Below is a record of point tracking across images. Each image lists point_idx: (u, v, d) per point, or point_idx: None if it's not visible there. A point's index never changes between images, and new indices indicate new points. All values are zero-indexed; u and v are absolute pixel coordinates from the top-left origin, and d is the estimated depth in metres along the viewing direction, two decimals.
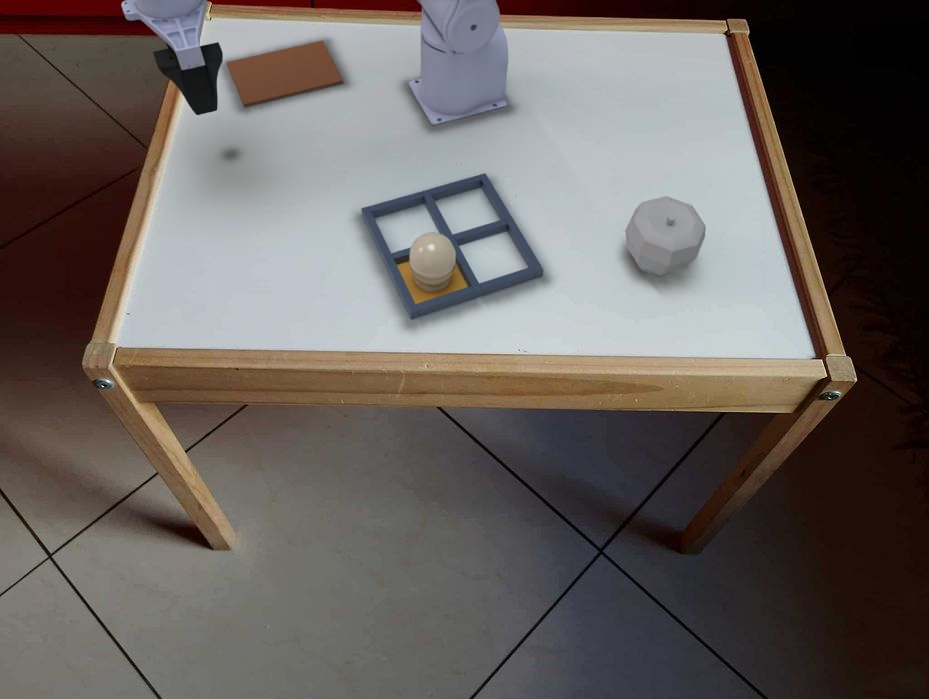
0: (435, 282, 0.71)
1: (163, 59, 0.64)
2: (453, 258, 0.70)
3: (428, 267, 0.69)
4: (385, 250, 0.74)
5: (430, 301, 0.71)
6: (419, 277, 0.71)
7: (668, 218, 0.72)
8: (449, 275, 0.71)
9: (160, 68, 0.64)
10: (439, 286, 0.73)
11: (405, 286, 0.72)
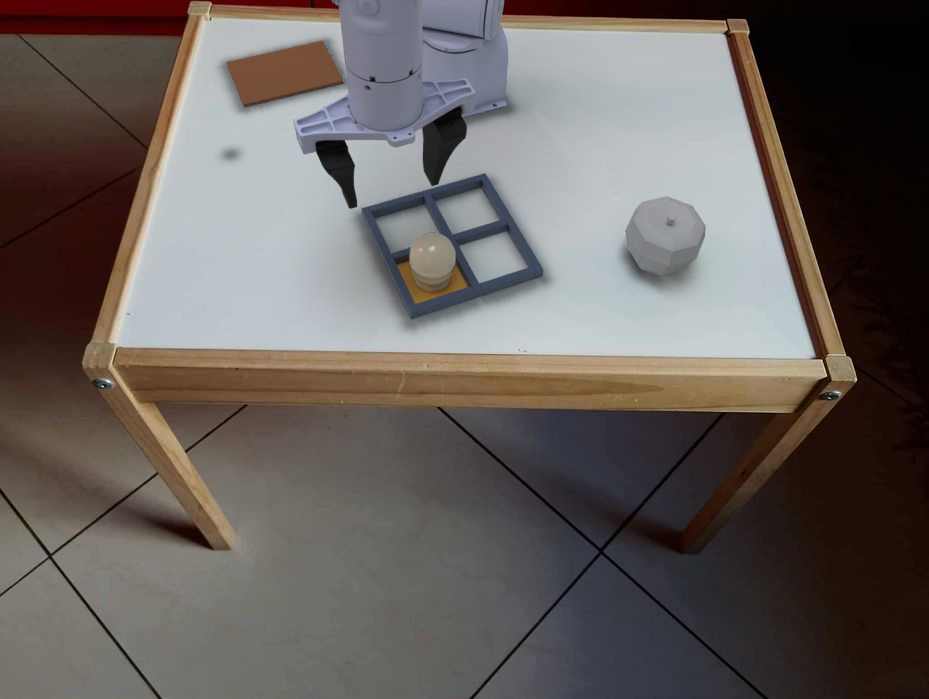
0: (435, 282, 0.71)
1: (455, 128, 0.61)
2: (453, 258, 0.70)
3: (428, 267, 0.69)
4: (385, 250, 0.74)
5: (430, 301, 0.71)
6: (419, 277, 0.71)
7: (668, 218, 0.72)
8: (449, 275, 0.71)
9: (465, 133, 0.61)
10: (439, 286, 0.73)
11: (405, 286, 0.72)
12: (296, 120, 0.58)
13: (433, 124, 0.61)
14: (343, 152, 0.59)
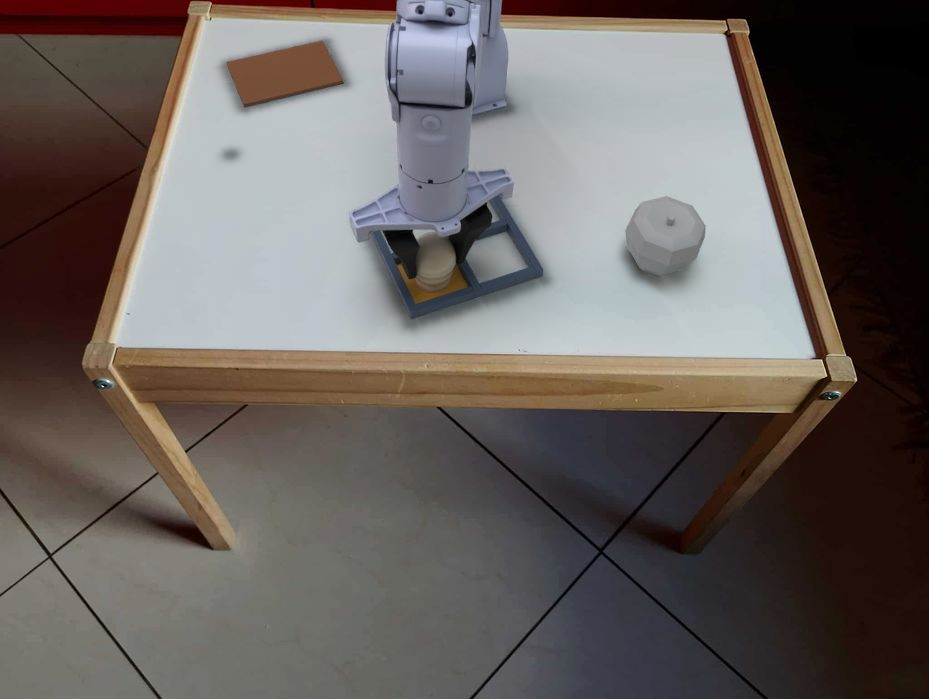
0: (435, 282, 0.71)
1: (481, 218, 0.66)
2: (453, 258, 0.70)
3: (428, 267, 0.69)
4: (385, 250, 0.74)
5: (430, 301, 0.71)
6: (419, 277, 0.71)
7: (668, 218, 0.72)
8: (449, 275, 0.71)
9: (490, 222, 0.66)
10: (439, 286, 0.73)
11: (405, 286, 0.72)
12: (351, 212, 0.63)
13: None
14: (408, 234, 0.65)
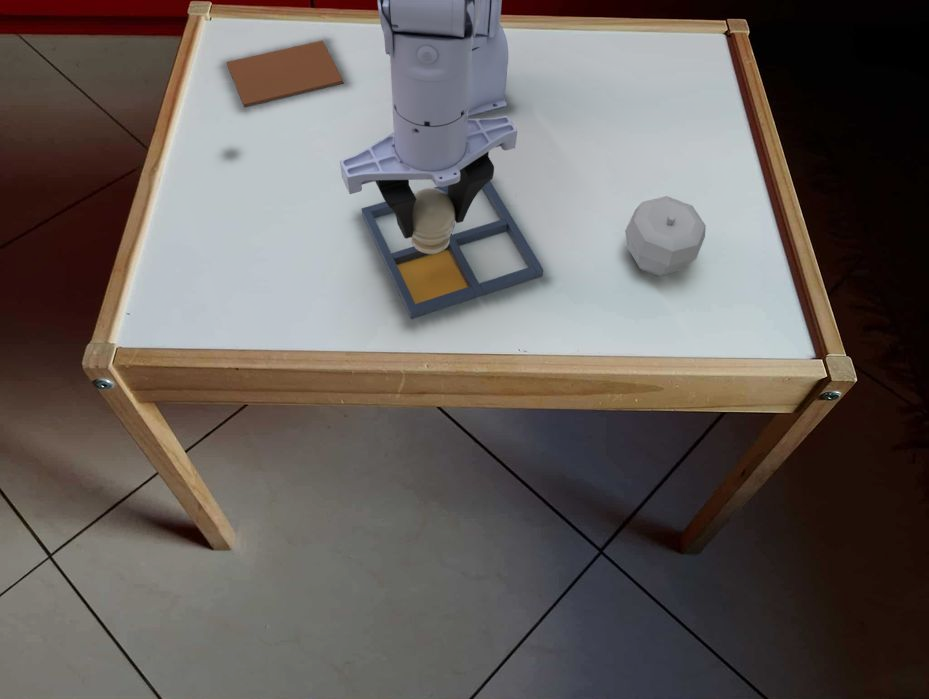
0: (433, 241, 0.67)
1: (482, 170, 0.61)
2: (453, 215, 0.66)
3: (426, 224, 0.65)
4: (385, 250, 0.74)
5: (430, 301, 0.71)
6: (416, 236, 0.66)
7: (668, 218, 0.72)
8: (448, 234, 0.67)
9: (492, 174, 0.62)
10: (438, 246, 0.68)
11: (405, 286, 0.72)
12: (343, 161, 0.58)
13: None
14: (404, 186, 0.60)
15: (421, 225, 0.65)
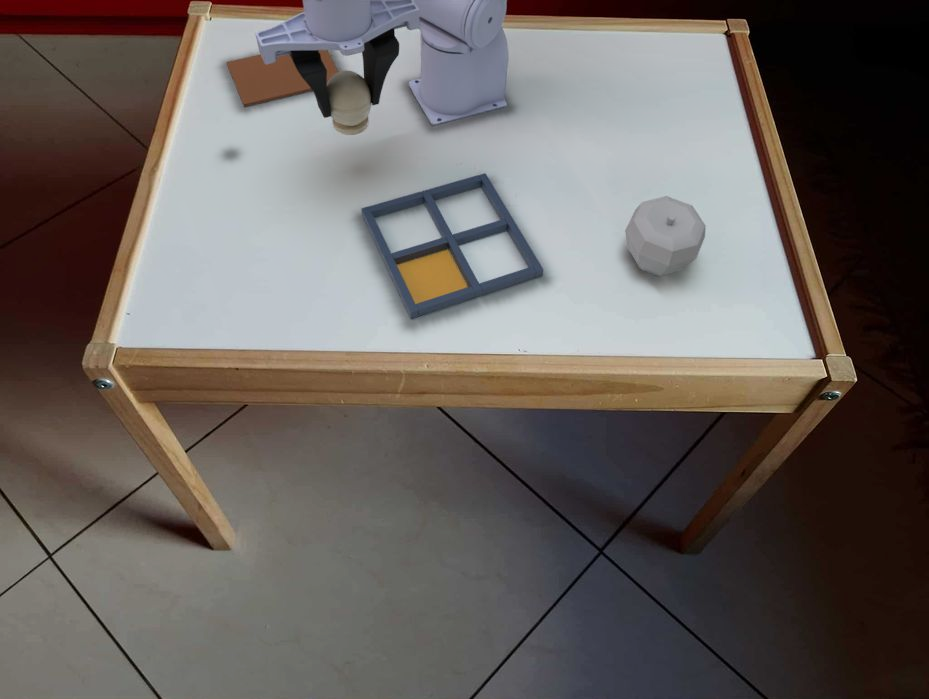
0: (350, 120, 0.73)
1: (388, 46, 0.68)
2: (367, 95, 0.72)
3: (341, 102, 0.71)
4: (385, 250, 0.74)
5: (430, 301, 0.71)
6: (334, 115, 0.73)
7: (668, 218, 0.72)
8: (364, 114, 0.73)
9: (397, 50, 0.68)
10: (356, 128, 0.74)
11: (405, 286, 0.72)
12: (258, 33, 0.65)
13: (369, 43, 0.68)
14: (316, 59, 0.67)
15: (337, 103, 0.71)
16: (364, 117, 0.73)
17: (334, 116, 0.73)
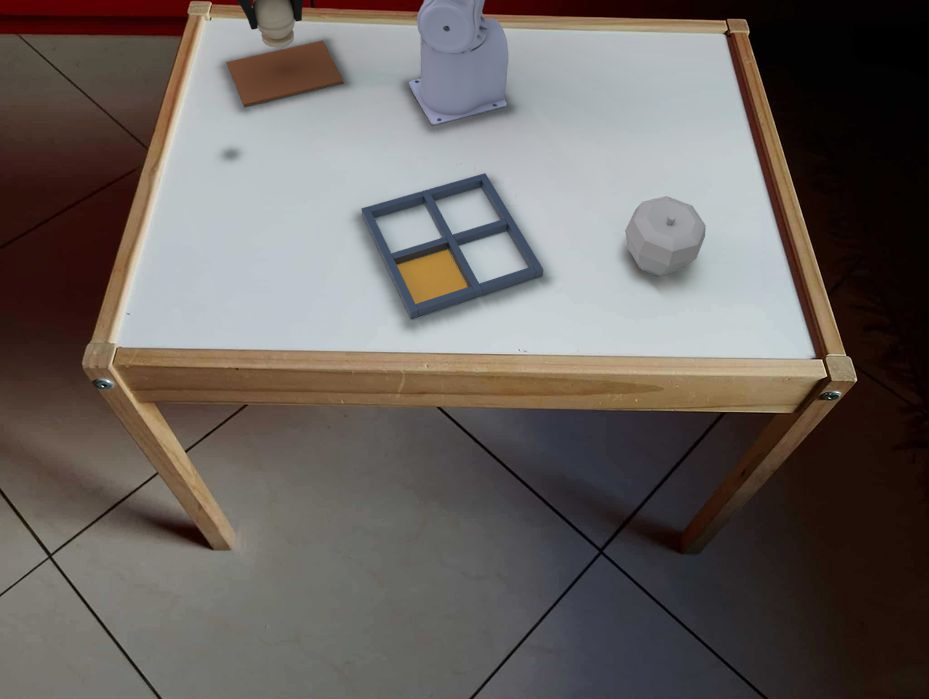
0: (274, 33, 0.83)
1: None
2: (289, 10, 0.82)
3: (265, 14, 0.81)
4: (385, 250, 0.74)
5: (430, 301, 0.71)
6: (260, 27, 0.83)
7: (668, 218, 0.72)
8: (287, 28, 0.83)
9: None
10: (281, 41, 0.84)
11: (405, 286, 0.72)
12: None
13: None
14: None
15: (261, 15, 0.81)
16: (287, 31, 0.83)
17: (260, 28, 0.83)
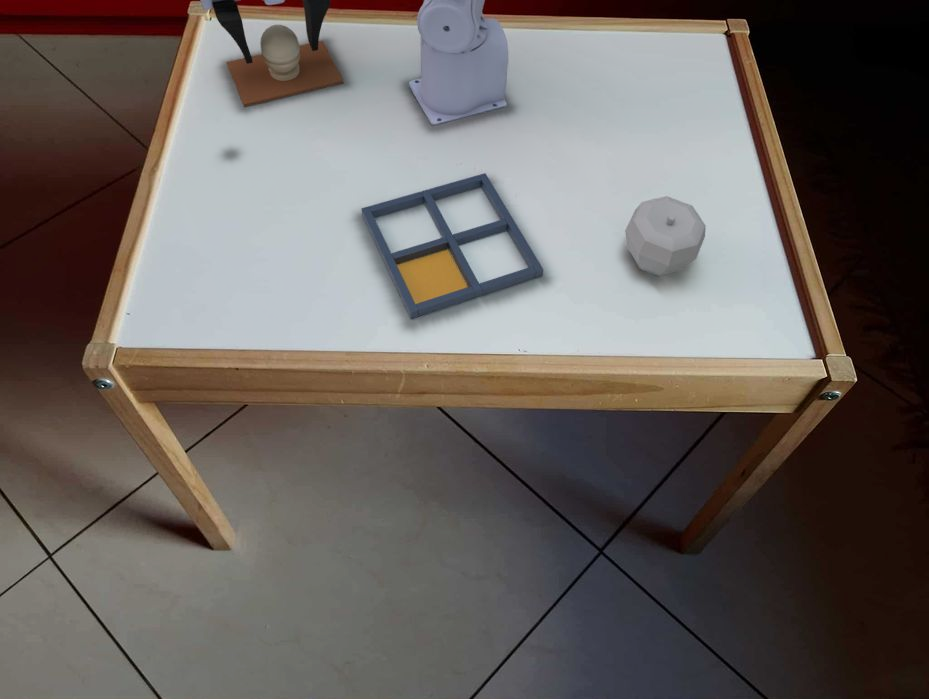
0: (281, 67, 0.87)
1: None
2: (295, 46, 0.86)
3: (272, 50, 0.85)
4: (385, 250, 0.74)
5: (430, 301, 0.71)
6: (267, 62, 0.86)
7: (668, 218, 0.72)
8: (293, 62, 0.87)
9: (328, 2, 0.81)
10: (287, 75, 0.88)
11: (405, 286, 0.72)
12: None
13: None
14: (234, 11, 0.80)
15: (269, 51, 0.85)
16: (293, 65, 0.87)
17: (267, 63, 0.87)
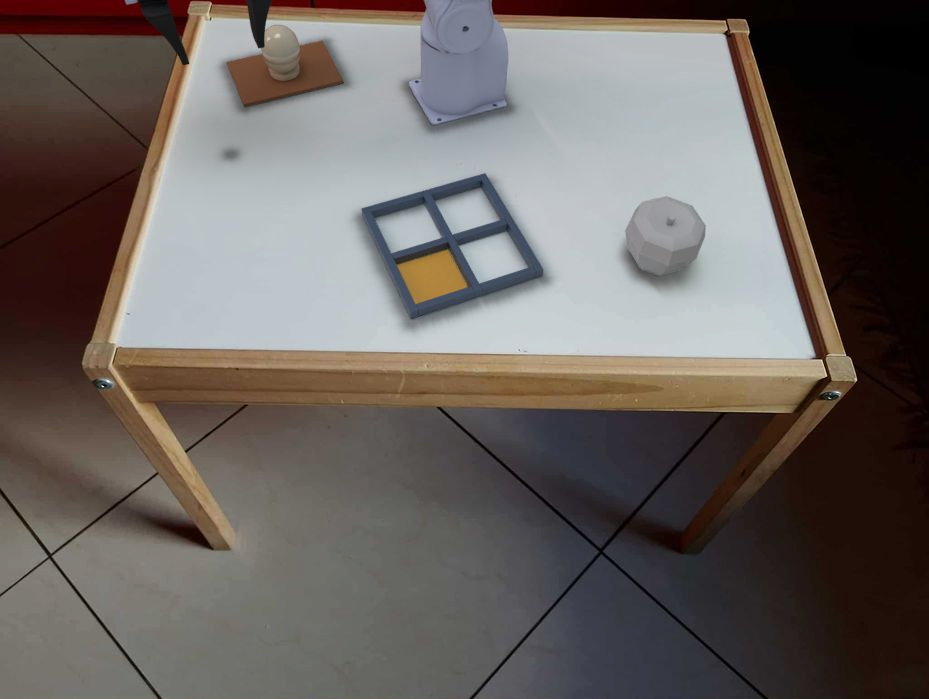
0: (281, 67, 0.87)
1: None
2: (295, 46, 0.86)
3: (272, 50, 0.85)
4: (385, 250, 0.74)
5: (430, 301, 0.71)
6: (267, 62, 0.86)
7: (668, 218, 0.72)
8: (293, 62, 0.87)
9: None
10: (287, 75, 0.88)
11: (405, 286, 0.72)
12: None
13: None
14: (162, 4, 0.69)
15: (269, 51, 0.85)
16: (293, 65, 0.87)
17: (267, 63, 0.87)
